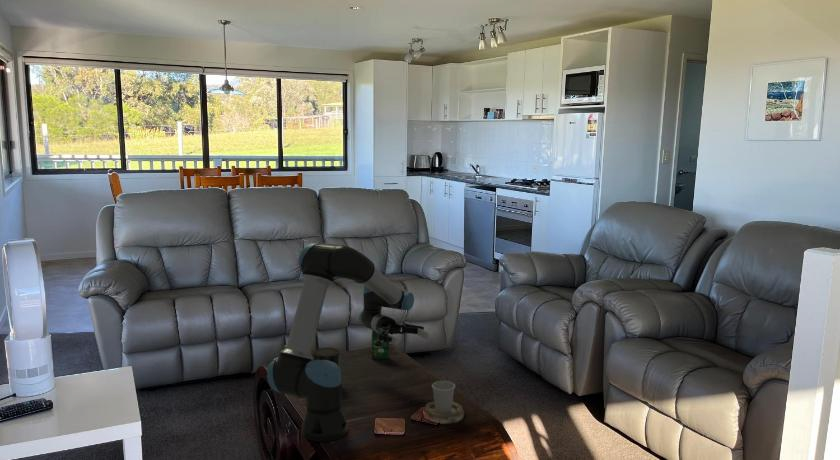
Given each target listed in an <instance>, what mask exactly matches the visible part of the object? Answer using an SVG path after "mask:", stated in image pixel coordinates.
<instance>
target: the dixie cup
mask: <svg viewBox="0 0 840 460" xmlns="http://www.w3.org/2000/svg"><path fill="white" fill-rule="evenodd" d="M431 388H432V394H433V401H434V405H435V411H436V412H437V413H439V414H450V413H451V409H452V402H453V401H454V393H455V388H456V384H455V383H454V382H451V381H450V380H437V381H435V382H433V383H432V384H431Z"/></svg>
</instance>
